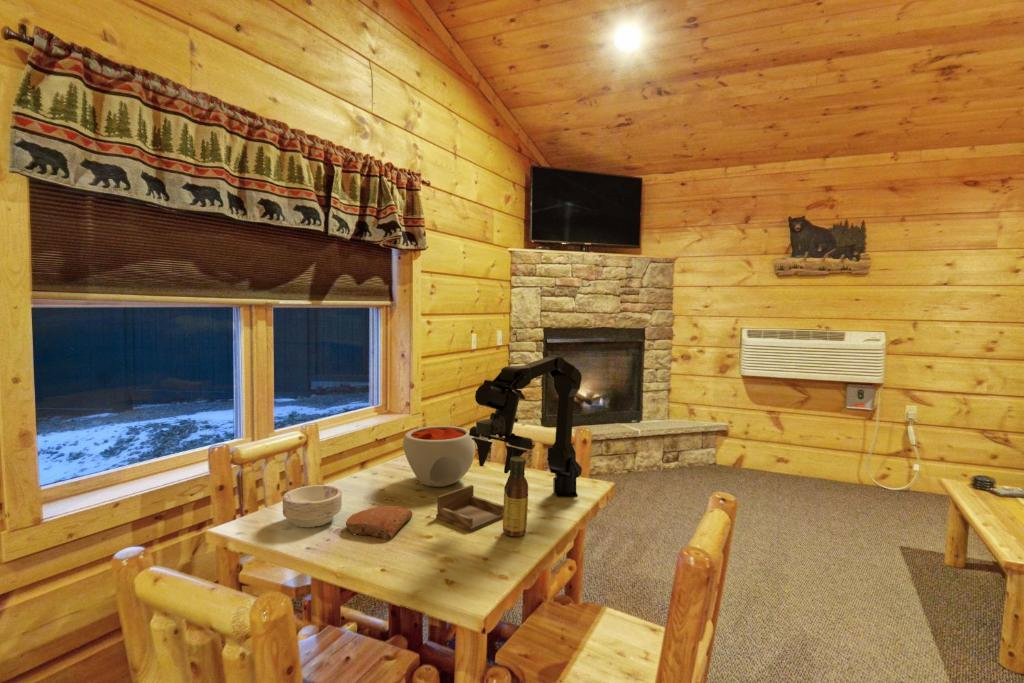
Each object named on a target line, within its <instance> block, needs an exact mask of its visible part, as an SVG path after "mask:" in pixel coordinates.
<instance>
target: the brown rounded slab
mask: <svg viewBox="0 0 1024 683" xmlns="http://www.w3.org/2000/svg"><path fill="white" fill-rule="evenodd" d="M412 518H413V511H412V510H411V509H409V508H408V507H406V506H405V507H404V506H400V505H390V506H389V505H386V506H385V505H384V506H376V507H370V508H367V509H363V510H360V511H358V512H356V513H353V514H351V515H350V516H349V517H348V518H347V520H346V522H345V526H346V527H347V528H348V529H349V532H350V533H351V535H352V534H358V535H357V536H363V535H364V536H365V535H370V536H372V537H375V538H380V537H381V538H382V539H383V538H385V539H384V540H387V539H391V540H392V539H393V538H394V536H395V535H396V534H397V532H398V531H399V530H400V529H401V528H402V527H403V526H404V524H405V523H406V522H408V521H409V520H411V519H412Z"/></svg>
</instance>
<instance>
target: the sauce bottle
mask: <svg viewBox="0 0 1024 683" xmlns="http://www.w3.org/2000/svg"><path fill="white" fill-rule="evenodd" d="M526 462H527V459H526V458H525V456H524V457H523V456H520V457H519V456H515V457H511V458H510V471H509V474H508V475H509V476H508V478H507V480H506V483H505V485H504V489H503V490H504V491H503V519H502V530H503V533H504V534H506V535H507V536H511V537H514V538H516V537H517V538H518V537H521V536H524V535H525V534H526V532H527V531H526V530H527V529H526V528H527V526H528V510H529V509H528V507H529V506H528V505H529V483H528V481H527V478H526V477H525V475H526V474H525V469H526V467H525V466H526Z"/></svg>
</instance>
